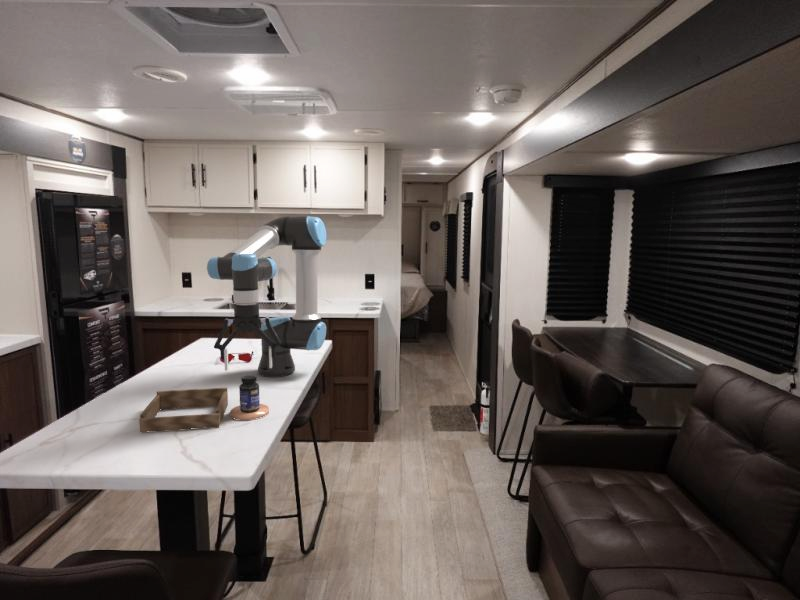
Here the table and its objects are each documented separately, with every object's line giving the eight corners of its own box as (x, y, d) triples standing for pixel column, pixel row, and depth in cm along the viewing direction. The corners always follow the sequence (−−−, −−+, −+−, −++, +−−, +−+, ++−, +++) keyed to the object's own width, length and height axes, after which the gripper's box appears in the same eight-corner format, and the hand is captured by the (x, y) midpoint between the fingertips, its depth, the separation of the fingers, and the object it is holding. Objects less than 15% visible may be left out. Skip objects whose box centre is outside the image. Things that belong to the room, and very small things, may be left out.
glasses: (219, 365, 216) (219, 354, 215) (223, 356, 232) (223, 345, 231) (252, 363, 219) (252, 352, 219) (254, 354, 235) (253, 344, 234)
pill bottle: (253, 414, 154) (252, 380, 153) (236, 412, 156) (235, 379, 154) (263, 407, 160) (262, 374, 159) (246, 405, 162) (245, 373, 160)
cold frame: (227, 404, 166) (227, 387, 165) (219, 427, 147) (218, 408, 146) (158, 408, 162) (157, 391, 161) (139, 432, 142) (138, 412, 141)
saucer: (269, 405, 165) (269, 402, 165) (268, 419, 154) (267, 415, 154) (232, 408, 163) (232, 404, 163) (228, 421, 151) (227, 418, 151)
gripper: (287, 300, 159) (288, 362, 163) (206, 302, 154) (209, 366, 158) (286, 303, 152) (288, 369, 156) (202, 306, 147) (205, 373, 150)
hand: (249, 368), depth 157 cm, fingers open, 13 cm apart
